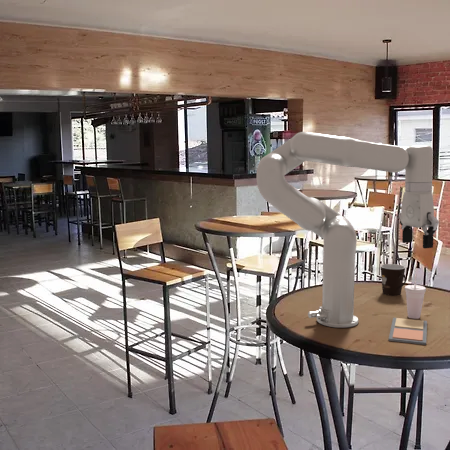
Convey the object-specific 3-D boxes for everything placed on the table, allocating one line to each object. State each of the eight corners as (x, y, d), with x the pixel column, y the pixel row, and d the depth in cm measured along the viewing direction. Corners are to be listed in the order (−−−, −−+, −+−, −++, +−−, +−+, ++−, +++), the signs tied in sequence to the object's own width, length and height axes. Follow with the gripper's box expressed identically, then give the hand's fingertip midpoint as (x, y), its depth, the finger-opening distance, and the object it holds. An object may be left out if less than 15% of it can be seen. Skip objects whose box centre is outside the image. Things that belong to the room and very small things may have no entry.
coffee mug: (378, 289, 215) (379, 263, 213) (402, 290, 214) (403, 264, 212) (382, 298, 204) (383, 271, 202) (407, 299, 202) (408, 271, 201)
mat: (426, 344, 159) (426, 341, 158) (388, 340, 162) (388, 337, 162) (427, 322, 177) (427, 319, 177) (393, 319, 180) (393, 316, 180)
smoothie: (401, 318, 182) (403, 274, 179) (405, 312, 187) (407, 270, 185) (422, 321, 179) (424, 277, 177) (426, 315, 184) (428, 272, 182)
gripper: (390, 186, 176) (389, 241, 179) (426, 190, 160) (425, 251, 163) (411, 185, 179) (410, 239, 181) (449, 189, 162) (447, 249, 165)
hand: (417, 245), depth 172 cm, fingers open, 9 cm apart
